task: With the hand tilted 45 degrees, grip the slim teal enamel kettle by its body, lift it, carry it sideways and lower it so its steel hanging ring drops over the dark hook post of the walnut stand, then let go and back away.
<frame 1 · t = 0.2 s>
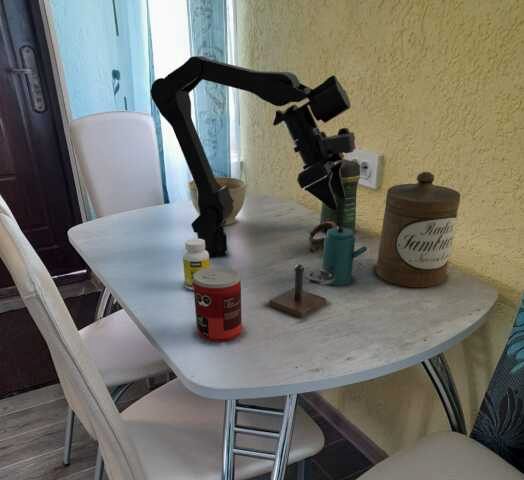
hand: (339, 203, 108), 15 cm above the table, tool tilted 30°, fingers open, 9 cm apart
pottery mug: (329, 251, 126), on the table
hook stand: (297, 304, 99), on the table
canned food: (219, 333, 90), on the table
supplement bottle: (198, 286, 107), on the table
wooden container: (409, 275, 113), on the table
kettle: (336, 279, 110), on the table
coffee jar: (337, 230, 139), on the table
planter bowl: (219, 222, 146), on the table
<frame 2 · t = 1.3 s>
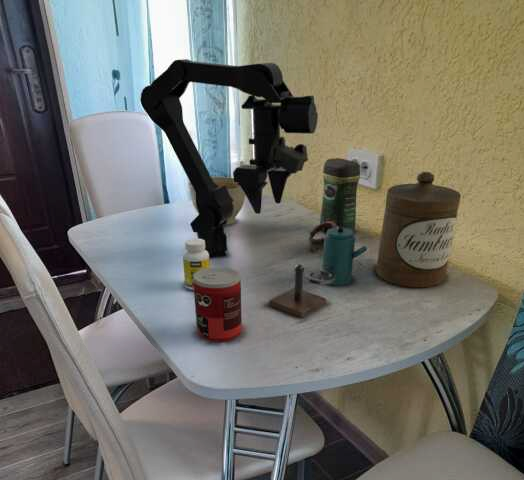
hand: (268, 208, 112), 13 cm above the table, tool pointing down, fingers open, 9 cm apart
nothing on the table moved.
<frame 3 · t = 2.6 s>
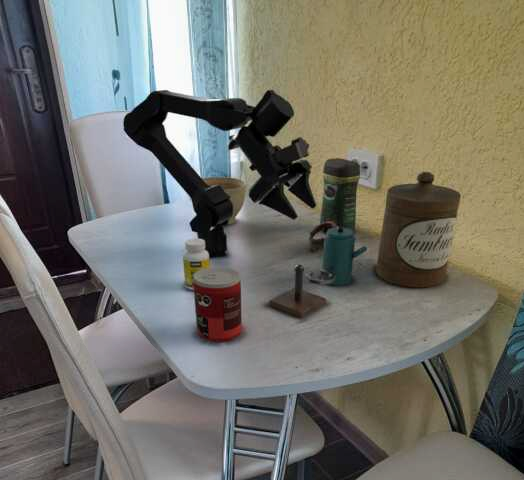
hand: (305, 212, 106), 14 cm above the table, tool tilted 45°, fingers open, 9 cm apart
nothing on the table moved.
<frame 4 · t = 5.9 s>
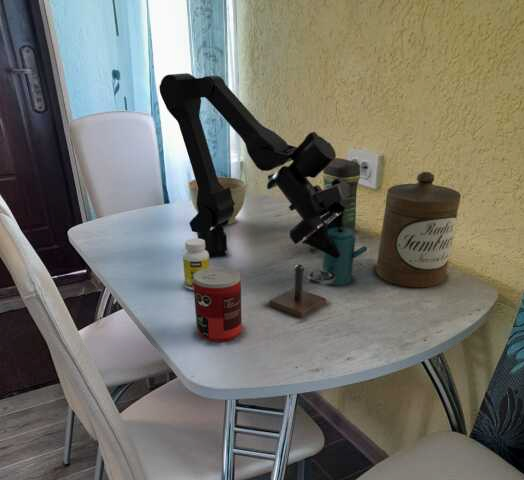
hand: (344, 252, 106), 7 cm above the table, tool tilted 45°, fingers closed on kettle, 6 cm apart
kettle: (336, 279, 110), on the table, touching gripper
everything else where it was.
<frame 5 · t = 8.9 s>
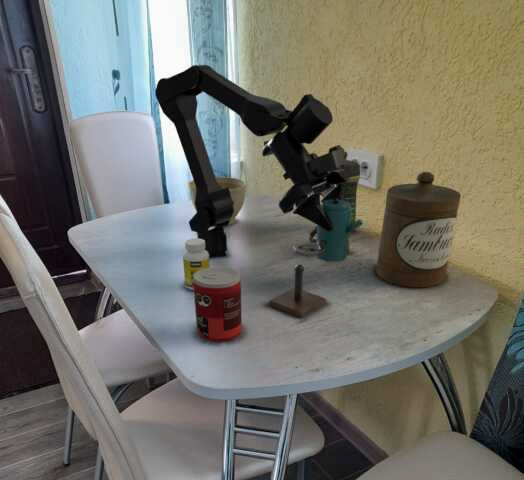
hand: (339, 225, 99), 13 cm above the table, tool tilted 45°, fingers closed on kettle, 6 cm apart
kettle: (331, 255, 104), point 7 cm above the table, touching gripper
everything else where it was.
when the fingers open (7 cm above the table, at t = 12.0 s): kettle stays where it is, on the table.
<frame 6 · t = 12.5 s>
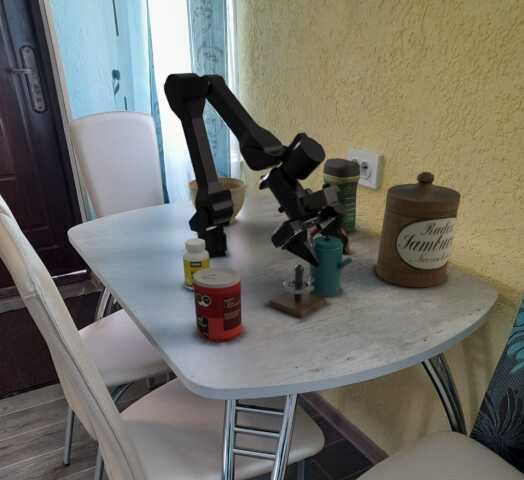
hand: (332, 259, 101), 7 cm above the table, tool tilted 45°, fingers open, 9 cm apart
kettle: (323, 290, 105), on the table
everything else where it was.
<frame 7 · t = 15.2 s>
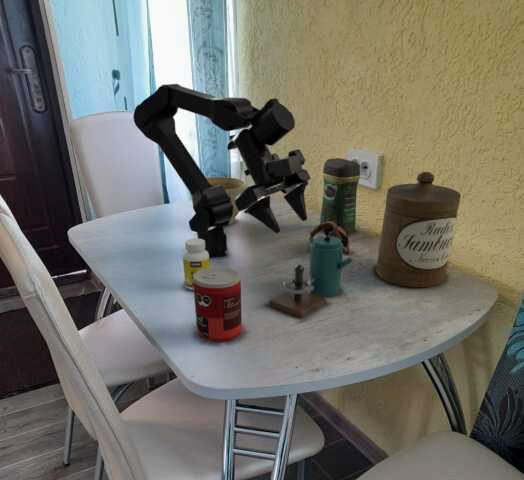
hand: (292, 226, 106), 11 cm above the table, tool tilted 35°, fingers open, 9 cm apart
nothing on the table moved.
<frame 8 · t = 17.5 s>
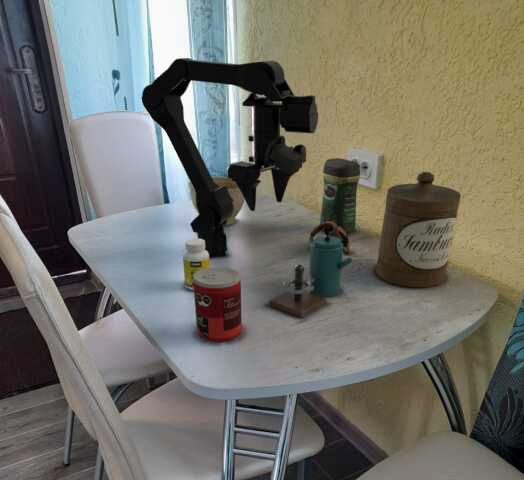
hand: (266, 206, 112), 13 cm above the table, tool pointing down, fingers open, 9 cm apart
nothing on the table moved.
at the end: kettle 0.1 cm from the target spot on the table beside the hook stand, on the table; kettle tilted 0°; the gripper is holding nothing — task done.
